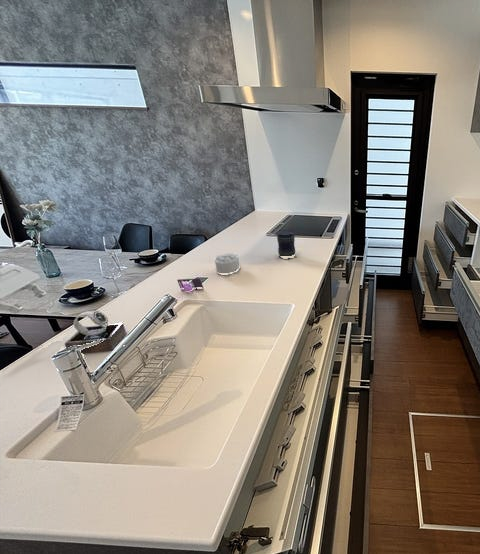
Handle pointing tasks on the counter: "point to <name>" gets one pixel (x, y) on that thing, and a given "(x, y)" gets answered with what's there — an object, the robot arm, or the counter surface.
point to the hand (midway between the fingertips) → (32, 302)
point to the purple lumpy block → (188, 287)
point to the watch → (97, 319)
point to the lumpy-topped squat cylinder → (227, 264)
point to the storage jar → (286, 242)
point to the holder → (108, 344)
